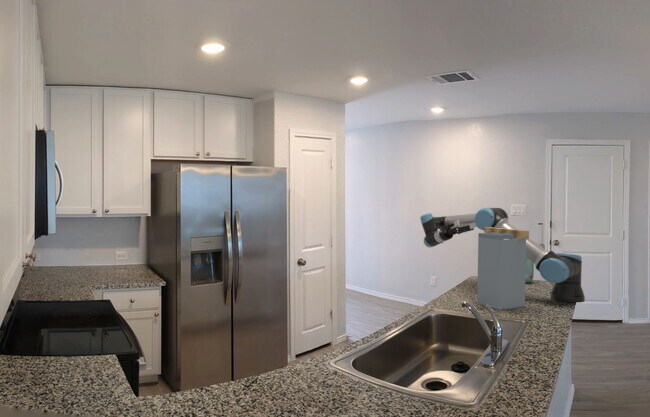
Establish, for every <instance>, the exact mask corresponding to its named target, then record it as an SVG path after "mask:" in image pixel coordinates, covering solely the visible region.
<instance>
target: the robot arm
mask: <svg viewBox="0 0 650 417" xmlns="http://www.w3.org/2000/svg"><path fill="white" fill-rule="evenodd" d="M419 219H420V223H421V226H422V229H423V232H424V235H425V236H424V237H423V244H424V245H425V246H426V247H427V248H433V247H435V246H438V245H440V244H443V243H445V242H446V241H449V240H451V239H452V238H453V237H454V235H456V234H457V235H460V234H463V233H467V232H471V231H474V230H475V228H477V229H479V230H481V231H484V227H493V228H505V229H516V230H518V228H516V227H515V226H513V225H512V224H511V223H509V216H508V212H506V211H505V210H504V209H503V208H501V207H484V208H480V209H479V210H478V211H477V212H476V213H467V214H466V213H465V214H458V215H456V214H455V215H447V216H444V215H443V216H434V215H433V213H431V212H429V213H425V214H423V215H421V216H420V218H419ZM526 258H528V259H529V260H530V261H532V262H533V263H534V268H535V269H536V270H537V271H538V272H539V273H540V276H541V277H542V279H543V280H545V281H546V282H549V283H553V284H554V285H553V287H552V290H551V293H550V299H551V300H554V301H558V302H564V303H575V302H576V304H577V303H584V302H585V301H586V297H585V294H584V290H583V287H582V269H583V268H582V266H583V264H582V263H583V261H582V256H581V255H580V254H572V253H560V252H554V251H552V250H546V249H545V248H543V247H542V246H541V245H539V244H538V243H536V242H535V241H534V240H533V239H531V238H530V237H529V239H526Z"/></svg>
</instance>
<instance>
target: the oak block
mask: <svg viewBox="0 0 650 417" xmlns="http://www.w3.org/2000/svg"><path fill="white" fill-rule="evenodd" d="M516 229H517V228H516ZM516 229H505V228H493V227H484V230H483V231H484V232H483V233H486V234H488V233H500V234H510V235H514V239H522V240H526V239H529V238H530V230H527V229H517V230H516Z"/></svg>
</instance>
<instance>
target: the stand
mask: <svg viewBox="0 0 650 417" xmlns="http://www.w3.org/2000/svg"><path fill="white" fill-rule="evenodd" d="M477 234H478V235H477V236H478V237H477V238H478V240H477V242H478V244H477V292H476V295H477V296H476V304H478V305H481V306H484V307H487V306H486V305H487V304H488V305H490V306H491V307H492V308H491V307H490V308H491V309H494V310H498V311H503V309H504V310H511V309H517V308H523V307H526V306H525V303H526V300H525V299H526V283H525V267H526V240H522V239H514V235H510V234H500V233H488V234H486V233H484V232H478V233H477Z"/></svg>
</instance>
